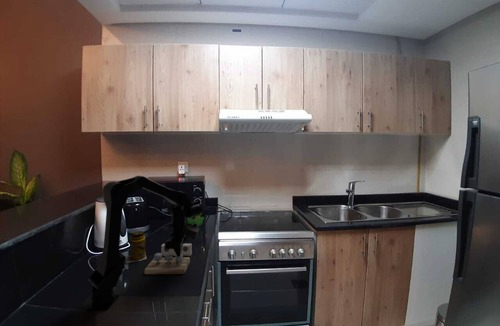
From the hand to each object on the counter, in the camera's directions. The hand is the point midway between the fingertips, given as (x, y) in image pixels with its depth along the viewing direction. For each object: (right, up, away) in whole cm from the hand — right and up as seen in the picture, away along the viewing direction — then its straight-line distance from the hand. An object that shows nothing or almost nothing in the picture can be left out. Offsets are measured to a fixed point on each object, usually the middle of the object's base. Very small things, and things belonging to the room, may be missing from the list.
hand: (178, 255), depth 94 cm
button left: (-9, -3, 0) cm, 10 cm away
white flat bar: (-5, -5, +12) cm, 14 cm away
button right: (0, -4, 0) cm, 4 cm away
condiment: (-23, -5, +8) cm, 25 cm away
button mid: (-4, -3, 0) cm, 6 cm away
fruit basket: (-7, -3, +58) cm, 59 cm away
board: (-4, -5, 0) cm, 7 cm away
